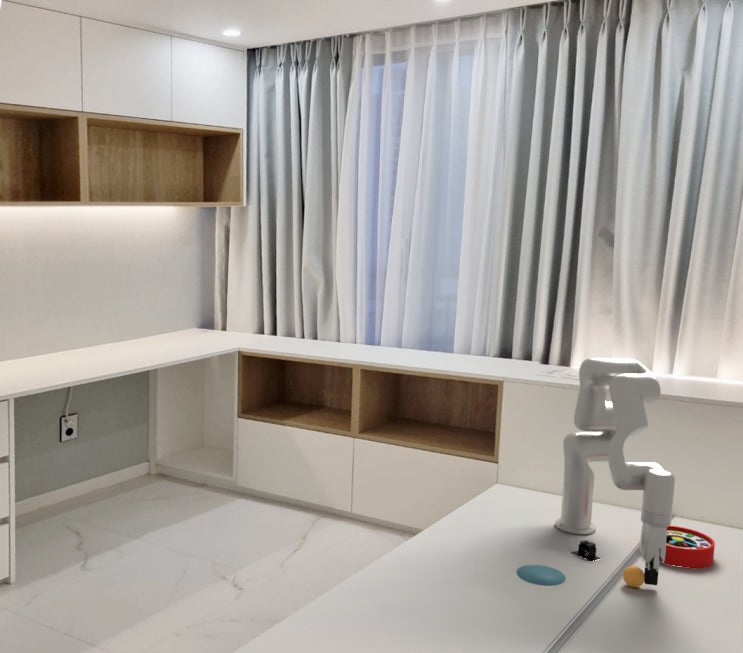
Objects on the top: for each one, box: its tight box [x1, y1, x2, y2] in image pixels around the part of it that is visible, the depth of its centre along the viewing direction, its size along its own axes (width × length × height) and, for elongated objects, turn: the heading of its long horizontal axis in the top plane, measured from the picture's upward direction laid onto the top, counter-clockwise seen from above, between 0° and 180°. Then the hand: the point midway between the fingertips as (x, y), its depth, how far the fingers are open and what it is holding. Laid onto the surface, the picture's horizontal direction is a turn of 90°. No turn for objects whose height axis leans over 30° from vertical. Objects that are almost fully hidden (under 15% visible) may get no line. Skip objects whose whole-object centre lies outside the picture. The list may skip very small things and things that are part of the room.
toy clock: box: [664, 525, 716, 569], centre depth 234 cm, size 20×6×20 cm
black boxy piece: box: [570, 539, 601, 562], centre depth 230 cm, size 12×7×5 cm, turn 33°
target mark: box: [516, 564, 566, 586], centre depth 214 cm, size 13×13×1 cm
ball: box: [622, 565, 645, 588], centre depth 210 cm, size 6×6×6 cm
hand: (650, 583), depth 209 cm, fingers closed
